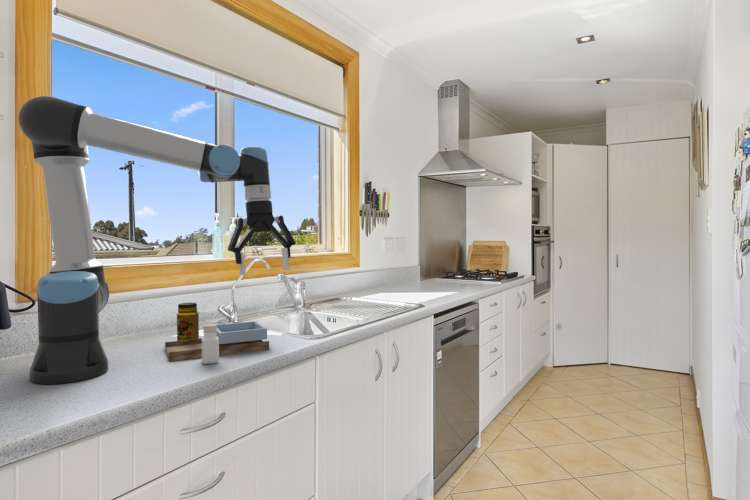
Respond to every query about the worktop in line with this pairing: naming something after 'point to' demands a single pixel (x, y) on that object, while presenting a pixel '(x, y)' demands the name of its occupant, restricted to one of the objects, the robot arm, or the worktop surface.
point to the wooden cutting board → (194, 348)
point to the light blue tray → (240, 332)
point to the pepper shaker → (210, 344)
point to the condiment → (187, 322)
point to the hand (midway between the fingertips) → (265, 272)
